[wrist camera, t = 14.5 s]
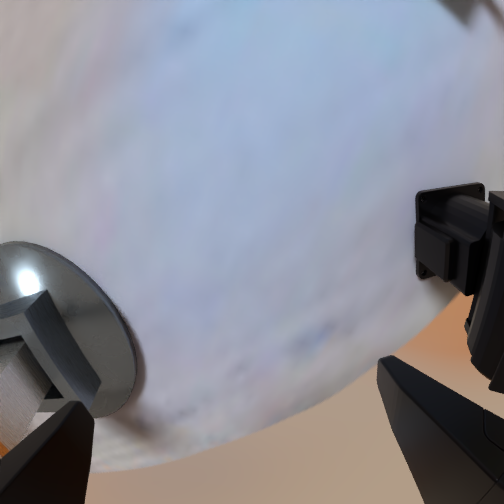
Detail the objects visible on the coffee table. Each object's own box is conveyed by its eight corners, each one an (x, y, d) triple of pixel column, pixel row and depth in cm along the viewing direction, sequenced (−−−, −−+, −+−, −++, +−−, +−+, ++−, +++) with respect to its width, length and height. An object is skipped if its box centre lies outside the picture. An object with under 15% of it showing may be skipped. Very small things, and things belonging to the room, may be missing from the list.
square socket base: (73, 208, 19) (37, 228, 15) (172, 403, 25) (164, 442, 21) (-51, 272, 20) (-78, 293, 16) (36, 413, 26) (22, 440, 22)
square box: (41, 322, 21) (-38, 428, 10) (65, 363, 22) (6, 473, 11) (12, 330, 21) (-61, 422, 10) (35, 367, 23) (-23, 464, 11)
